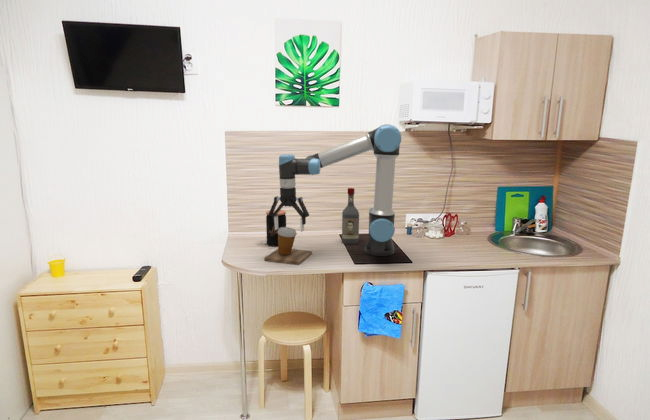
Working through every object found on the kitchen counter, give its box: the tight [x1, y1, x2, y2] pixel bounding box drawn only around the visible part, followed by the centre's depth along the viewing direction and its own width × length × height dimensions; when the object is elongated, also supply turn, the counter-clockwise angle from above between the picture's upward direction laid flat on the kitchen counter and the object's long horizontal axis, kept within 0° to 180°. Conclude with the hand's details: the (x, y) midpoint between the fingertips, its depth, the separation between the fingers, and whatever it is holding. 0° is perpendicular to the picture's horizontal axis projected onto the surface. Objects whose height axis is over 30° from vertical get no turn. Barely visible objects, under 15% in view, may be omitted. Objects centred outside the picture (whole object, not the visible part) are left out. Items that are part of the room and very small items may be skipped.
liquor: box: [341, 187, 360, 245], centre depth 240 cm, size 9×9×30 cm
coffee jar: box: [265, 209, 287, 247], centre depth 237 cm, size 11×11×18 cm
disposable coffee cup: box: [277, 226, 297, 255], centre depth 216 cm, size 10×10×12 cm
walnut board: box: [263, 248, 313, 266], centre depth 216 cm, size 18×18×2 cm
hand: (289, 230), depth 214 cm, fingers open, 13 cm apart
